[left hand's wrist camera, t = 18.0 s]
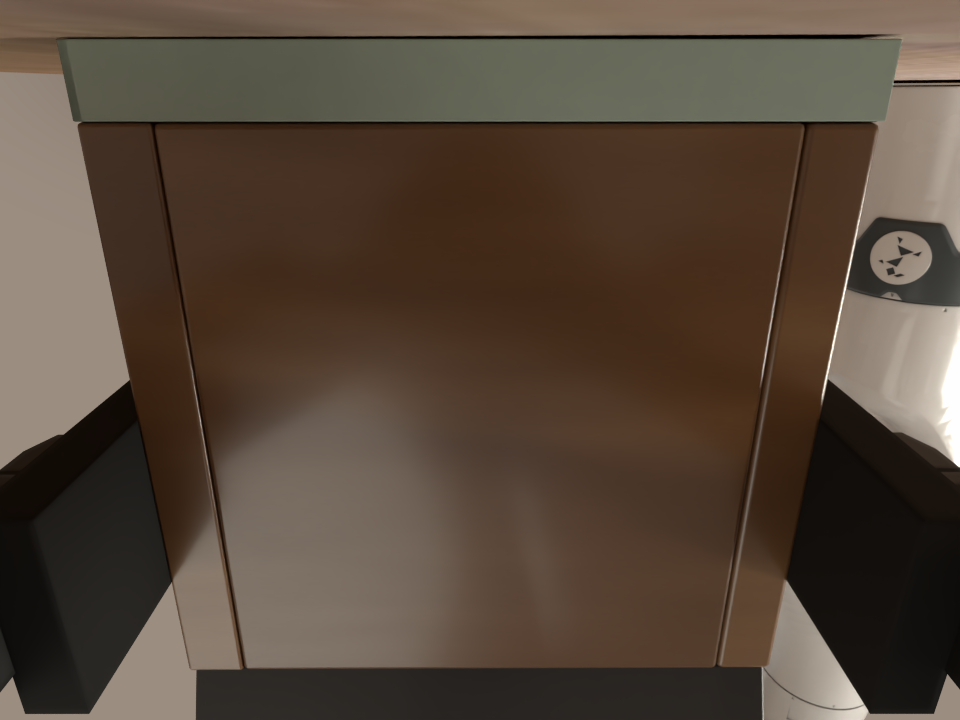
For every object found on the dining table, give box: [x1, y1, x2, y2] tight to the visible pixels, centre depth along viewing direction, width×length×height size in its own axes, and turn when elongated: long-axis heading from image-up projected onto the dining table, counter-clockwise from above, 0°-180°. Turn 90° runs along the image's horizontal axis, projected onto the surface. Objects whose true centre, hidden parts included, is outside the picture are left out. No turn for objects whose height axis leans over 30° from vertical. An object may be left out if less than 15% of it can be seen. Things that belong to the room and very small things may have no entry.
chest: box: [57, 39, 902, 670], centre depth 16 cm, size 15×9×9 cm, turn 0°
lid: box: [196, 663, 764, 720], centre depth 18 cm, size 15×9×9 cm, turn 179°
